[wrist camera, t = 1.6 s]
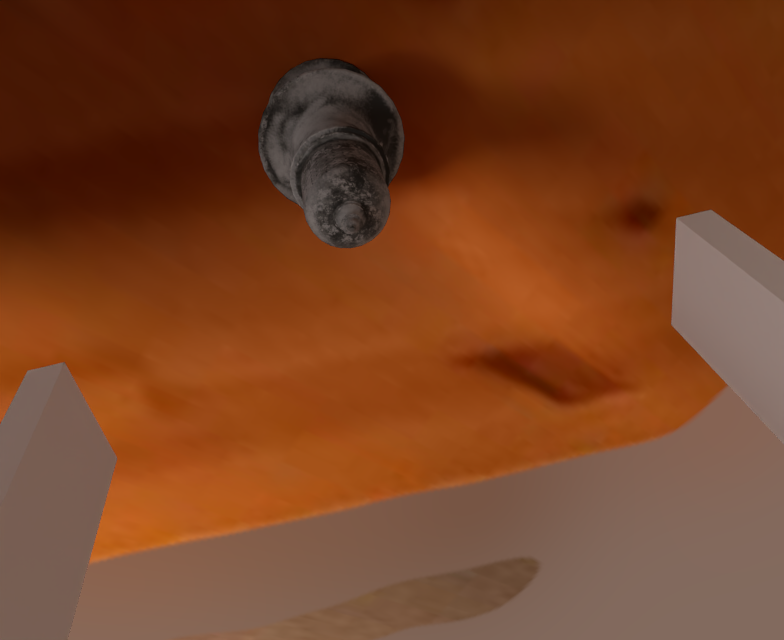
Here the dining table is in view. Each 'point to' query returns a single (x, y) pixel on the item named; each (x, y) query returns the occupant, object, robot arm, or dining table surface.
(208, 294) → the dining table surface
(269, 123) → the dark grey tall piece
